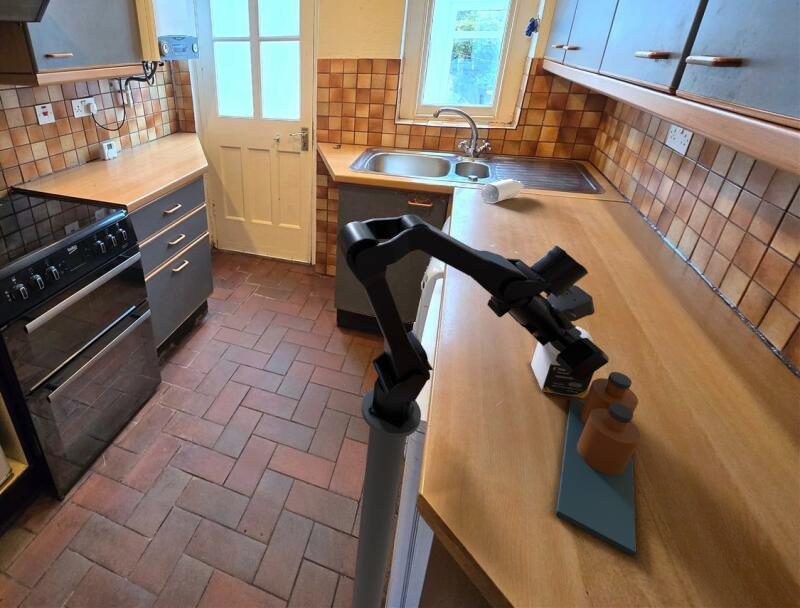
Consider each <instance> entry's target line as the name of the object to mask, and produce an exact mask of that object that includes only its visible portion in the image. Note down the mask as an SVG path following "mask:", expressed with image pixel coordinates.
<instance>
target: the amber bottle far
mask: <svg viewBox="0 0 800 608" xmlns="http://www.w3.org/2000/svg"><path fill="white" fill-rule="evenodd" d="M632 384H633V383H632V379H631V378H630V377H629V376H628V375H625V374H624V373H621V372H619V371H611V372H610V373H609V374H608V376H607V378H605V377H602V378H601V377H600V378H596V379H594V380H593V381H591V385H590V386H589V389H588V391H587V395H586V396H585V400H584V401H583V402H584V405H583V407H582V410H581V412H580V417H581V420H582V421H583V423H584V424H585V425H586V422H587V420H588V418H589V415H590V413H591V411H593V410H594V409H598V408H603V409H608V407H609V404H611V403H619V404H622V405H624V406H626V407H627V408H629V409H630V410H631V411H632V413H633V414H634V413H635V411H636V409H637V407H638V404H639V399H638V396H637V395H636V393H634V391H633V390H632V389H630V388H631V386H632Z"/></svg>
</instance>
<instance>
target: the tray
mask: <svg viewBox="0 0 800 608" xmlns="http://www.w3.org/2000/svg"><path fill="white" fill-rule="evenodd" d="M584 402H585V401H583V400H581V399H577V398H576V397H573V396H570V400H569V405H568V412H567V413H568V414H567V422H566V427H565V428H566V429H565V437H564V438H565V439H564V444H563V452H562V453H563V454H562V461H561V467H560V477H559V485H558V493H557V501H556V509H555V516H557V517H559V518H561V519H562V520H564V521H566V522H568V523H569V524H572V525H573V526H575V527H577V528H579V529H581V530H583V531H585V532H587V533H589V534H590V535H592V536H594V537H596V538H598V539H599V540H602V541H604V542H606V543H607V544H608V545H611V546H612V547H615V548H616V549H618V550H620V551H622V552H624V553H626V554H628V555H629V556H631V557H635V555H636V553H637V543H636V519H635V518H636V517H635V494H634V493H635V492H634V469H633V467H634V466H633V455H632V456H631V458H630V460H629V462H628V464H627V466H626V468H625V470H624V471H623V473H622V474H619V475H608V474H604V473H602V472H599V471H597V470H595V469H594V468H592V467H591V466H590V465H588V464H587V463H586V462H585V461H584V460H583V459H582V458H581V456H580V455H579V453H578V450H577V444H578V442H579V439H580V437H581V435H582V432H583V430H584V427H585V424H584V423H583V421H582V420H581V417H580V412H581V410H582V407H583V405H584Z"/></svg>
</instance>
